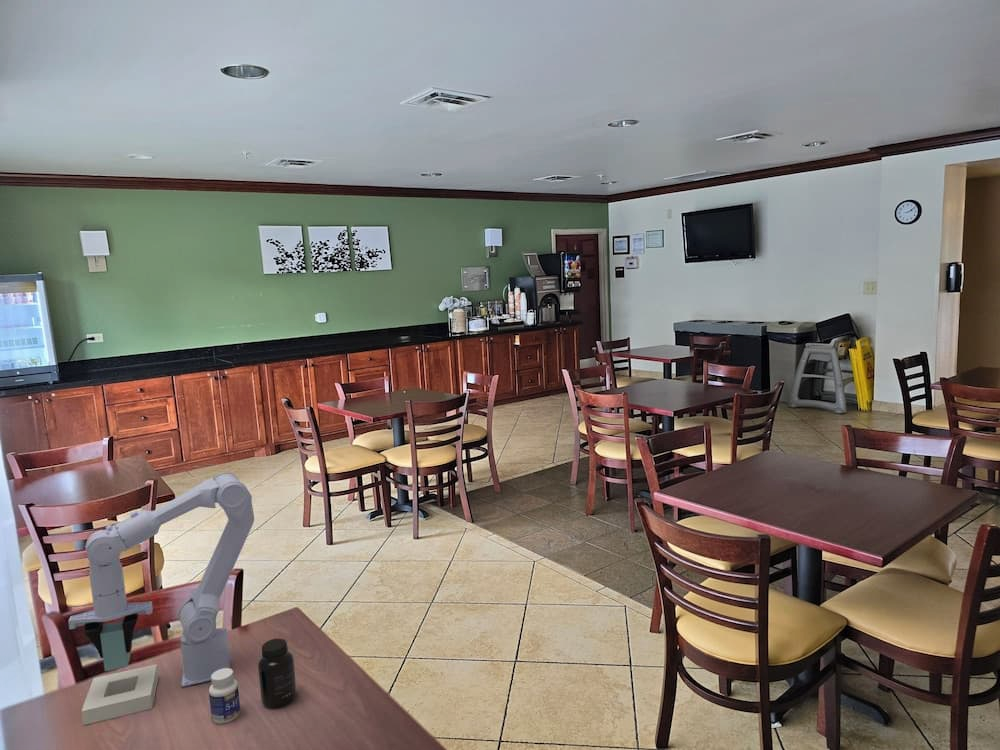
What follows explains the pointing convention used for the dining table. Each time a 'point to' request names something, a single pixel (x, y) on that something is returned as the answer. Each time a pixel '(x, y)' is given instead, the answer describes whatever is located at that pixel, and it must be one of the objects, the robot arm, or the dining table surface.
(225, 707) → the pill bottle
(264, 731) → the dining table surface
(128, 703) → the socket block
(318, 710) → the dining table surface
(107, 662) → the peg
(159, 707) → the dining table surface
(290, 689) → the supplement bottle
